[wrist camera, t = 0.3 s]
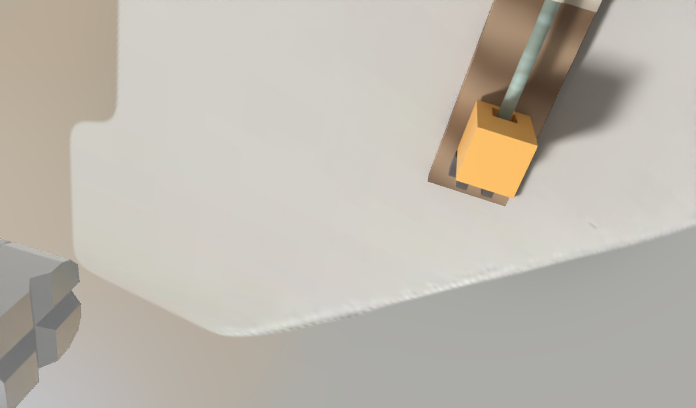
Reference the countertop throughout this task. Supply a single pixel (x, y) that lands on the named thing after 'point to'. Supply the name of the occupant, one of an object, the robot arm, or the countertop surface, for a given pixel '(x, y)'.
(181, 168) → the countertop surface
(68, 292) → the robot arm
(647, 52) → the countertop surface
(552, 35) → the slider rail board
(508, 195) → the orange slider block
